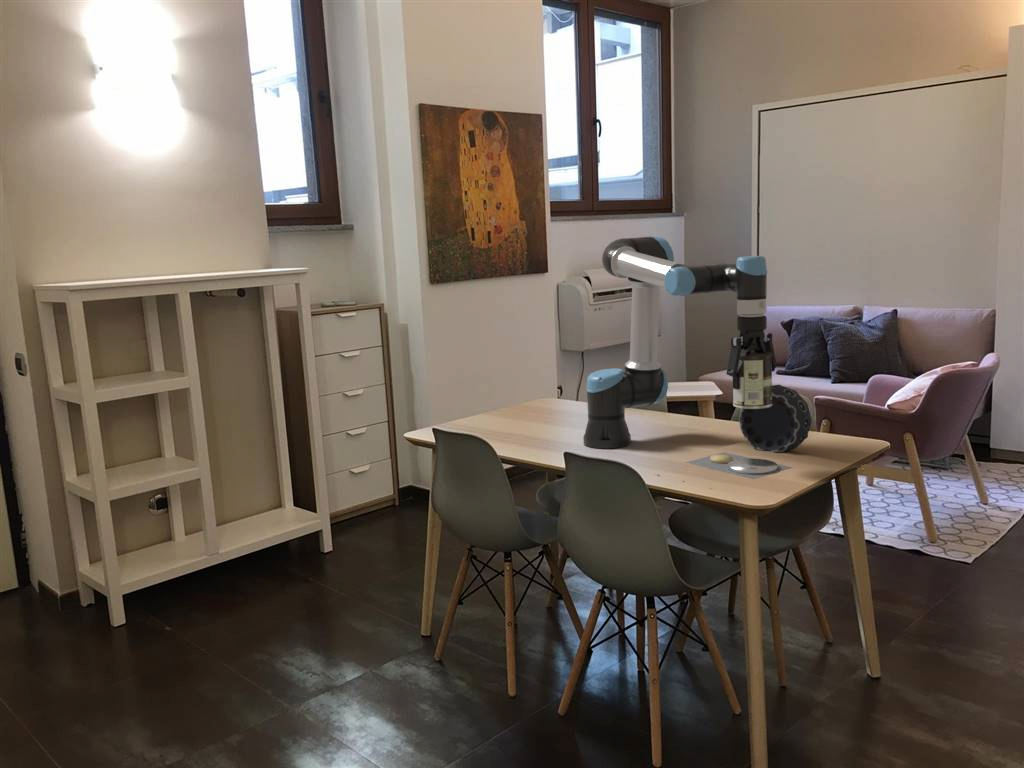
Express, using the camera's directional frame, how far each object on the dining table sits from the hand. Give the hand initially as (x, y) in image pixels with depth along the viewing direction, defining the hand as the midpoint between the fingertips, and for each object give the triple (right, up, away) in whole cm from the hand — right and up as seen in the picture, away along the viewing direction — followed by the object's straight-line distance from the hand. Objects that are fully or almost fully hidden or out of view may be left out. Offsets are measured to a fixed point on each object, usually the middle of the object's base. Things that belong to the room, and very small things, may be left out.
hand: (752, 398), depth 235 cm
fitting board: (-2, -20, +8) cm, 21 cm away
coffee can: (0, -2, 0) cm, 2 cm away
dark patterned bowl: (+13, -17, +24) cm, 32 cm away
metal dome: (+1, -19, +3) cm, 19 cm away
